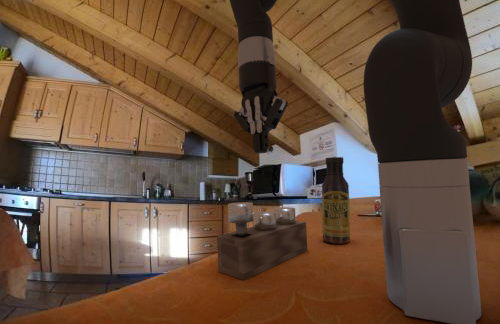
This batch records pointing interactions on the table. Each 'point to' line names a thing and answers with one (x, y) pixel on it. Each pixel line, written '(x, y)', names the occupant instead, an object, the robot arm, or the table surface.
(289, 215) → the knob right
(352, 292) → the table surface
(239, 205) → the knob left
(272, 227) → the knob middle
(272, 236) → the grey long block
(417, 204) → the robot arm
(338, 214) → the sauce bottle
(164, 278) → the table surface
